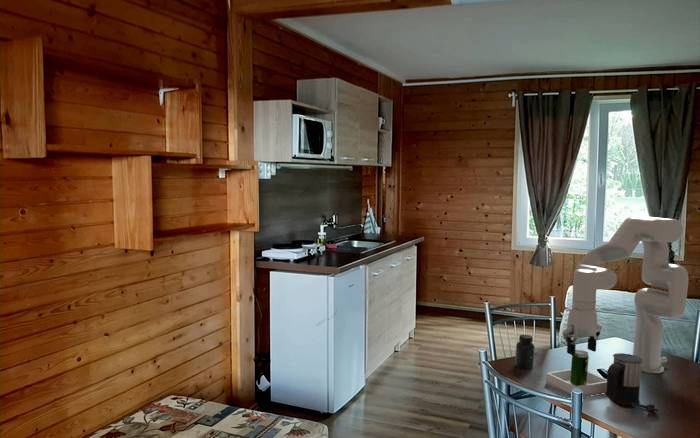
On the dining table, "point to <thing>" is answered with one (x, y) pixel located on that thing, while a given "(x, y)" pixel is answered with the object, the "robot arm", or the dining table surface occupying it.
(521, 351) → the supplement bottle
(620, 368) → the milk frother
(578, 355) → the beer can
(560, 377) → the tray
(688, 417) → the dining table surface
